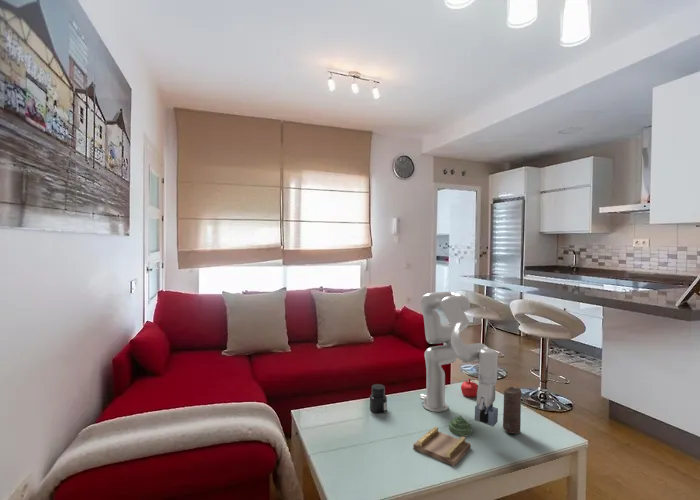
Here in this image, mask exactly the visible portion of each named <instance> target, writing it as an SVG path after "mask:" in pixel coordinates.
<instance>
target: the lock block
mask: <svg viewBox="0 0 700 500" xmlns="http://www.w3.org/2000/svg"><path fill="white" fill-rule="evenodd" d="M479 405H480V404H479ZM479 405H477V404H476V405H475V406H474V421H477V422H479V423H482V424H484V425H488V426H491V427H495V425H497V423H498V421H499V420H498V415H499V408H497V407H495V406H493V407H492V406H489V407H488V410H487V414H488V423H484V422H481V421H480V410H479ZM484 406H486V405H485V404H484ZM483 409H485V408H484V407H483Z"/></svg>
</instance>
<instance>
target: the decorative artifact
mask: <svg viewBox="0 0 700 500" xmlns="http://www.w3.org/2000/svg"><path fill="white" fill-rule="evenodd" d="M448 430H449V432H450V433H451V434H453V435H456V436H458V437H459V436H460V437H466V436H467V437H468V436H470V435H472V424H471V423H470V422H469V421H467V419H466V418H464V417H462V415H458V416H455V417H454V418H453V419H451V420H449V422H448Z"/></svg>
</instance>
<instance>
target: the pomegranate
mask: <svg viewBox="0 0 700 500" xmlns="http://www.w3.org/2000/svg"><path fill="white" fill-rule="evenodd" d="M460 390H461V393H462V395H463V396H464V397H468V398H475V397H476V398H477V390H478V383H476V382H474V380H471V378H468V381H467V380H465V381H463V383H462V384H461V385H460Z"/></svg>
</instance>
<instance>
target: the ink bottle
mask: <svg viewBox="0 0 700 500" xmlns="http://www.w3.org/2000/svg"><path fill="white" fill-rule="evenodd" d="M385 389H386V387H385V385H384V384H382V383H381V384H380V383H375V384H372V385H371V394H370V396H369V410H370V411H371V412H372V413H374V412H375V414H383V413H385V412H387V410H388V398H387V397H388V396H387V395H386V394H385V393H386V390H385Z"/></svg>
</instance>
